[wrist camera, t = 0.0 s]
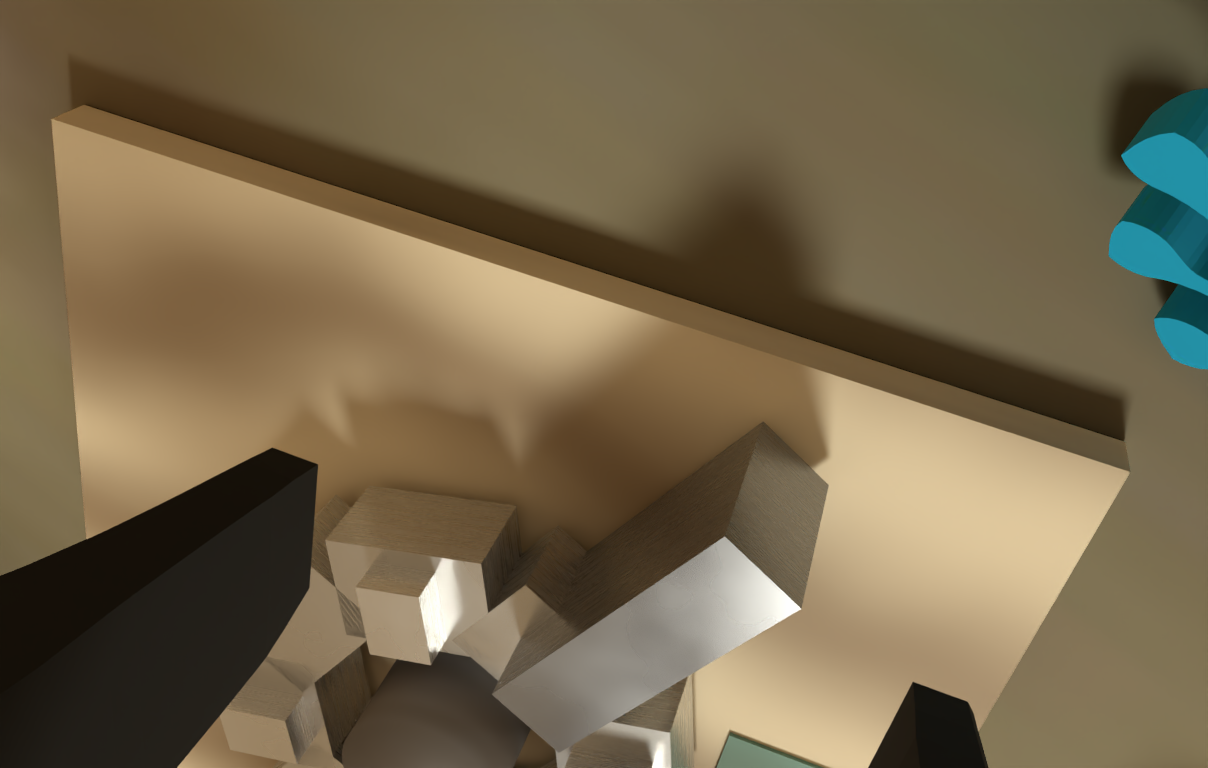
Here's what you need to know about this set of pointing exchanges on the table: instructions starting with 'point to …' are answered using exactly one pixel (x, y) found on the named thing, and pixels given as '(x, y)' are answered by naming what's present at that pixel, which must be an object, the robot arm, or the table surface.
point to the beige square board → (548, 438)
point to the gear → (1172, 221)
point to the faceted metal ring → (542, 610)
